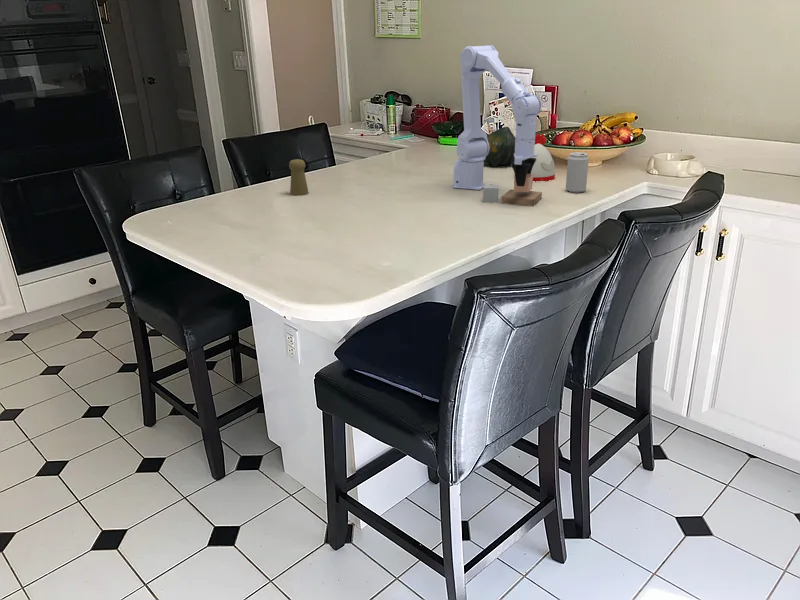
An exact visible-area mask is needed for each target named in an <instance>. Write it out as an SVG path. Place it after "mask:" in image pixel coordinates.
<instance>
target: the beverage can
mask: <svg viewBox="0 0 800 600" xmlns="http://www.w3.org/2000/svg"><path fill="white" fill-rule="evenodd" d="M589 160H590V158H589V154H588V153H586V152H581V151H580V152H579V151H576V152H570V153H569V156H567V168H566V179H565V190H566V191H567V192H568V191H569V192H568V193H572V192H573V193H572V194H576V193H577V194H579V193H584V192H585V191H586V190H587V184H588V183H587V182H588V173H589V171H588V170H589V163H590V161H589Z"/></svg>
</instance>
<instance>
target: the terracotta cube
mask: <svg viewBox="0 0 800 600" xmlns="http://www.w3.org/2000/svg"><path fill="white" fill-rule="evenodd" d="M513 180H514V181H513V182H514V183H513V190H514V191H519V192H529V191H532V190H533V183H534V182H533V174H527V175H526V181H525V185H524V186H517V184H516V178H515V177H514V179H513Z"/></svg>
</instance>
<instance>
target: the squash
mask: <svg viewBox="0 0 800 600" xmlns="http://www.w3.org/2000/svg"><path fill="white" fill-rule="evenodd" d="M515 137H516V136H514V134H513V132H512V131H511V129H510V127H509V126H503V127H500V128H499V129H498V128H497V129H496V130H494V131H493V132H491V133H489V134H487V140H488V143H489V148H490V149H489V153H488V155H487V156H486V159H485V160H484V165H486V166H488V167H492V166H494V167H498V165H502V166H503V165H504V166H511V162H515V157H514V153H515Z"/></svg>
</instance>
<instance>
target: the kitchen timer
mask: <svg viewBox="0 0 800 600" xmlns="http://www.w3.org/2000/svg"><path fill="white" fill-rule="evenodd" d="M546 141H547V137H546V136H545V135H544V134H543V133H541V134H539V133H537V134H536V133H535V146H534V153H535V154H538V156H537V157H532V158H536V162H535V163H534V165H533V168H532V171H531V174H533V181H535V182H534V183H537V182H536V181H545V182H550V181H549V180H551V181H553V180H555V179H556V178H555V177H556V169H555V161H554V159H553V156H552V154H551V153H550V151H549V150H548V148H546V147H545V144H546Z"/></svg>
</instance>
